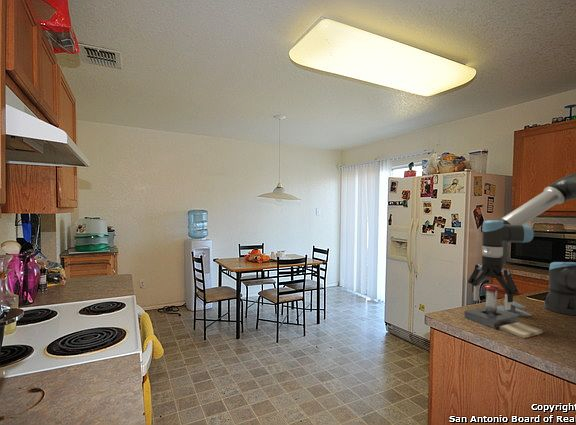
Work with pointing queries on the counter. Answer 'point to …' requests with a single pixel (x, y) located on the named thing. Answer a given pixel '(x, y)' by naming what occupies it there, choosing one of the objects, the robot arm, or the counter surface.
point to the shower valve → (514, 309)
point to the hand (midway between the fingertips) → (491, 304)
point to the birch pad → (521, 329)
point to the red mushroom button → (491, 299)
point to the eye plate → (491, 317)
